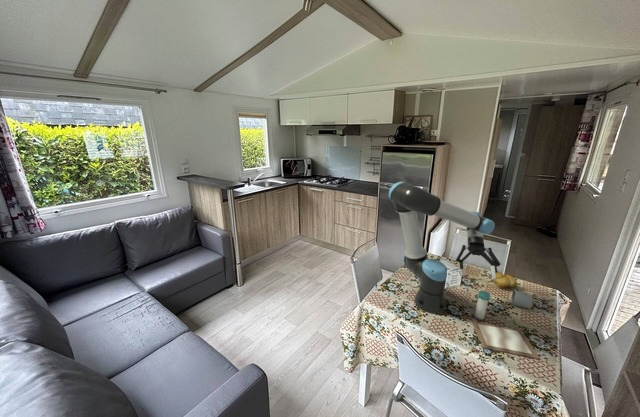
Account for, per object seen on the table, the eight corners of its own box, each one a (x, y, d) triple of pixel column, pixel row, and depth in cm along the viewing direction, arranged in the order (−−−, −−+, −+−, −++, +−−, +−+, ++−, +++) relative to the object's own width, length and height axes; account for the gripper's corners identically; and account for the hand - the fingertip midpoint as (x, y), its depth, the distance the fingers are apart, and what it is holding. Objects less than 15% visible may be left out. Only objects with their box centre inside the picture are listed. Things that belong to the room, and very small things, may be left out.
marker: (475, 320, 122) (480, 295, 118) (472, 314, 126) (477, 290, 123) (485, 322, 121) (491, 297, 117) (482, 316, 125) (488, 291, 121)
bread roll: (513, 283, 154) (516, 271, 151) (521, 292, 144) (525, 280, 142) (489, 280, 156) (492, 269, 154) (496, 289, 147) (499, 277, 145)
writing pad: (482, 348, 106) (483, 346, 106) (472, 322, 121) (472, 320, 121) (539, 359, 101) (539, 358, 101) (521, 331, 116) (521, 329, 116)
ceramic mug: (531, 312, 128) (535, 299, 126) (512, 307, 132) (515, 294, 130) (528, 301, 137) (531, 288, 135) (509, 296, 141) (512, 284, 139)
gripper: (498, 243, 139) (504, 282, 129) (448, 238, 145) (450, 275, 136) (504, 238, 132) (510, 278, 123) (452, 233, 139) (453, 271, 129)
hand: (478, 277), depth 129 cm, fingers open, 13 cm apart
